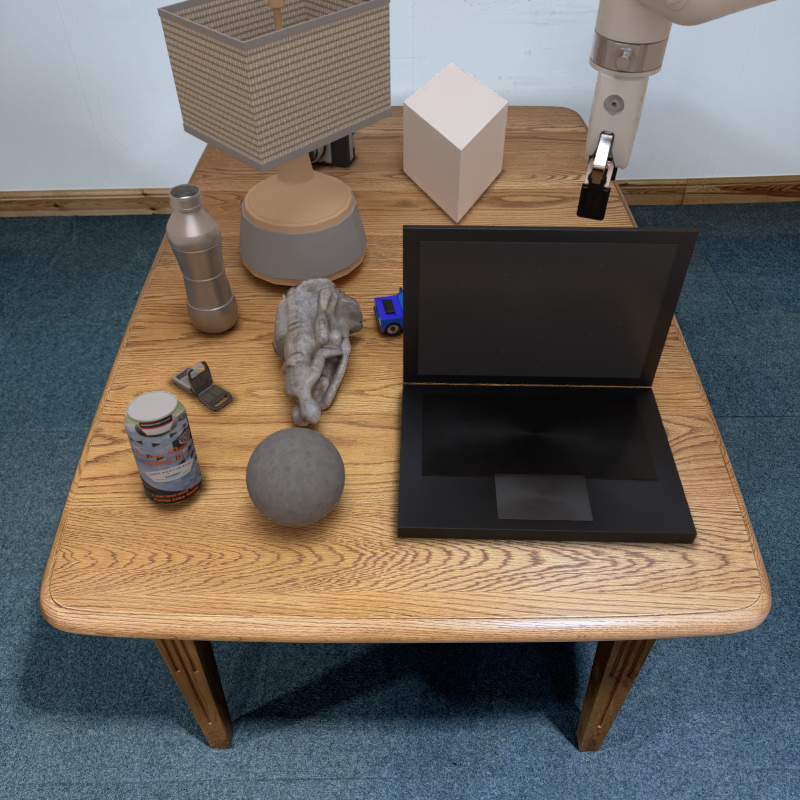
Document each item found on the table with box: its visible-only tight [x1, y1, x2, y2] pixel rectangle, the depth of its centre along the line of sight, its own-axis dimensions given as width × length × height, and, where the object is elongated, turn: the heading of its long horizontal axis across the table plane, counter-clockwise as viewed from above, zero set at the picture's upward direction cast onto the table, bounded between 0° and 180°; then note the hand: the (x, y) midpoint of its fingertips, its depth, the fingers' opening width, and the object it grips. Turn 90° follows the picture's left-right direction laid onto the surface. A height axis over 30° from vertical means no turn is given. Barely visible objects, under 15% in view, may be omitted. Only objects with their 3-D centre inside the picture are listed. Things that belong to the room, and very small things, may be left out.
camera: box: [309, 132, 356, 168], centre depth 128 cm, size 14×8×10 cm, turn 73°
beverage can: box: [123, 390, 203, 505], centre depth 75 cm, size 6×7×12 cm
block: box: [402, 61, 509, 224], centre depth 125 cm, size 18×35×12 cm, turn 179°
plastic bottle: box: [165, 183, 239, 334], centre depth 92 cm, size 6×7×20 cm
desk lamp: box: [156, 0, 393, 287], centre depth 97 cm, size 22×19×37 cm
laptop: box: [397, 383, 698, 545], centre depth 81 cm, size 21×30×2 cm
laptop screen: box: [402, 224, 700, 388], centre depth 81 cm, size 21×30×1 cm
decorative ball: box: [245, 426, 346, 527], centre depth 74 cm, size 10×10×10 cm
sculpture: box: [272, 278, 365, 427], centre depth 88 cm, size 11×18×12 cm
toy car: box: [372, 286, 403, 337], centre depth 97 cm, size 7×12×5 cm, turn 101°
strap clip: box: [172, 360, 233, 411], centre depth 88 cm, size 8×3×4 cm, turn 51°
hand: (596, 197), depth 88 cm, fingers open, 9 cm apart
